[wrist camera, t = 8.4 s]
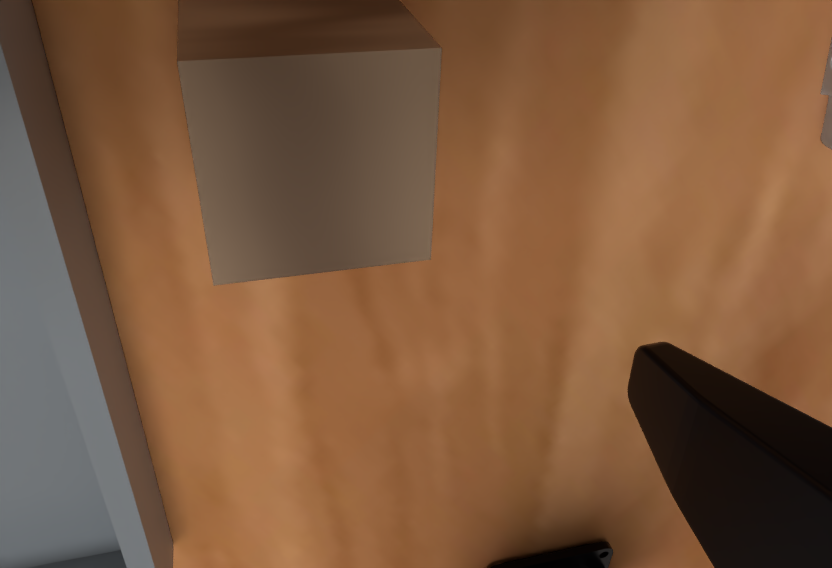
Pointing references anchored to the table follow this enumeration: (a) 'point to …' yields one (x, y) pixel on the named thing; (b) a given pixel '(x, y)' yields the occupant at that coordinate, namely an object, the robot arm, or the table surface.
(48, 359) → the tote
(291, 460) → the table surface
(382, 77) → the walnut cube
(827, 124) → the cassette
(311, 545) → the table surface
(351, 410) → the table surface
